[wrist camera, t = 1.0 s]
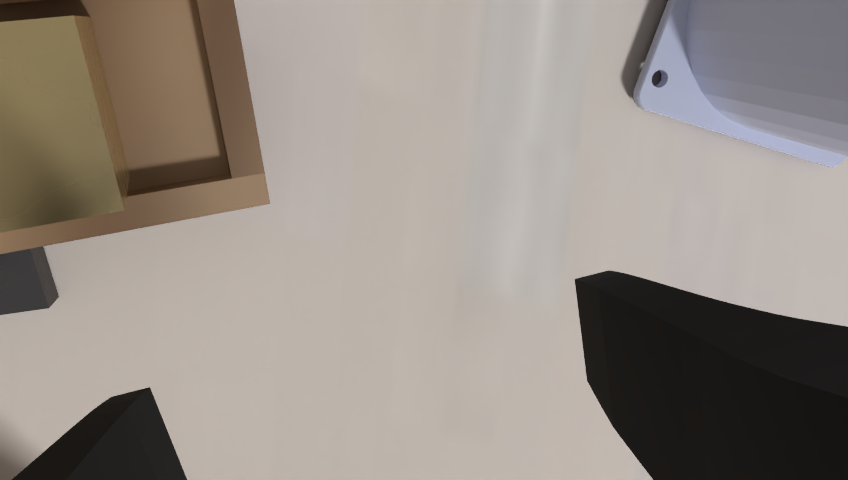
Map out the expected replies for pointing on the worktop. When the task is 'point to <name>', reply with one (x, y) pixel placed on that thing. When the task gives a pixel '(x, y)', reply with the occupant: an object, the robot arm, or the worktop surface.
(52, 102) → the rider
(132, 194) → the beam
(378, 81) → the worktop surface
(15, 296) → the stand
